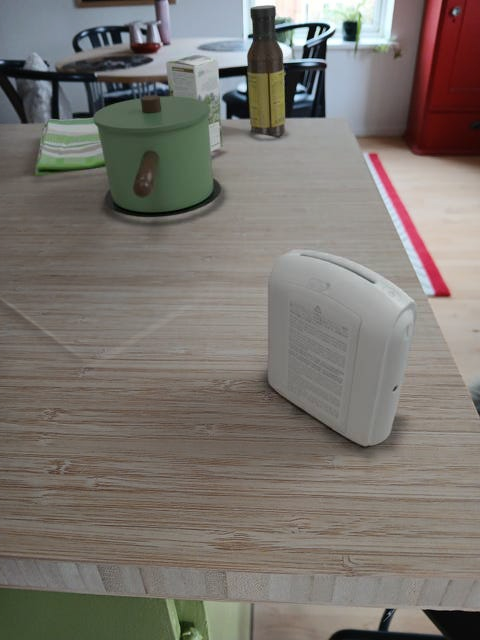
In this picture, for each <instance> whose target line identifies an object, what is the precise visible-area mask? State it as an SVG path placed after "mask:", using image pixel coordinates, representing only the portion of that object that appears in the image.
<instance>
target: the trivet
mask: <svg viewBox="0 0 480 640" xmlns="http://www.w3.org/2000/svg"><path fill="white" fill-rule="evenodd" d="M218 181H219V180H217V179H215V178H214V177H213V186H214V188H213V191H212V193H211V195H210V196H209V197H207V198H206V199H205V200H203V201H201V202H200V203H197V204H195V205H193V206H190V207H187V208H183V209H179V210H174V211H167V212H137V211H132V210H127V209H124V208H122V207H120V206H118V205H117V204H115V202H114V201H113V199H112V195H111V190H110V189H109V190H107V192H106V194H105V196H104V203H105V204H106V206H107V207H108V208H109V209H111V210H112V211H115V212H116V213H120V214H122V215H125V216H130V217H131V216H132V217H137V218H161V217H163V218H164V217H172V216H177V215H183V214H186V213H190V212H193V211H197V210H199V209H201V208H203V207H206V206H207V205H209V204H211V203H212V202H214V201H215V200H216V199H217V198H218V197H219V195H220V194H221V191H222V188H221V187H222V186H221V185H220V183H219V182H218Z"/></svg>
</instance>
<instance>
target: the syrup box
mask: <svg viewBox="0 0 480 640" xmlns="http://www.w3.org/2000/svg"><path fill="white" fill-rule="evenodd" d="M165 67H166V74H167V75H166V76H167V86H168V93H169V94H168V97H169V96H171V97H187V98H193V99H198V100H201V101H204V102H206V103H207V104H208V105H209V107H210V114H209V116H208V122H209V135H210V148H211V153H212V152H214V151H216V150H218V149H220V148H222V147H223V135H222V114H221V111H222V110H221V93H220V91H221V89H220V75H219V72H220V71H219V59H217V58H215V57H212V56H208V55H201V54H192V55H186V56H183V57H179V58H177V59H173V60H169V61H166V63H165Z"/></svg>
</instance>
